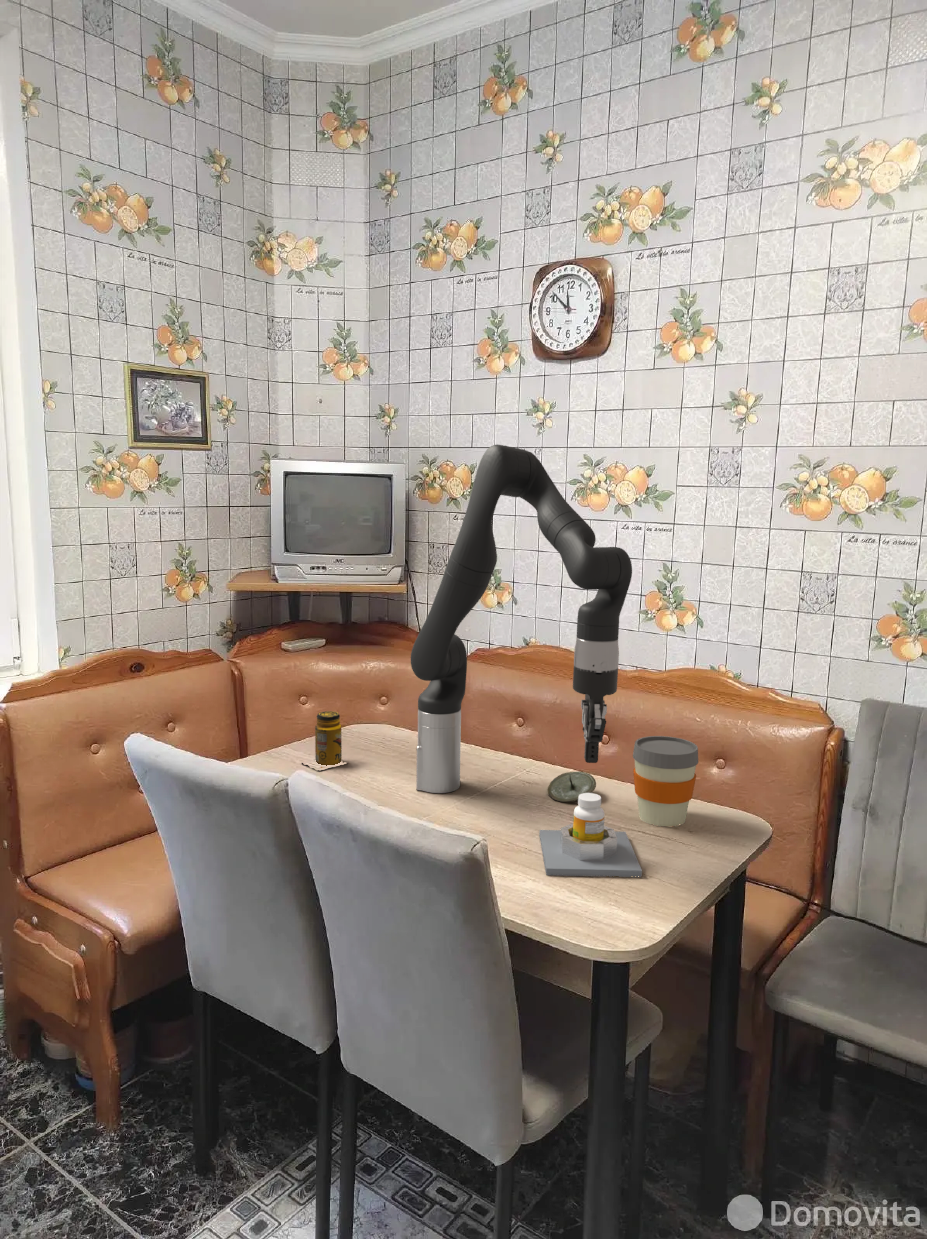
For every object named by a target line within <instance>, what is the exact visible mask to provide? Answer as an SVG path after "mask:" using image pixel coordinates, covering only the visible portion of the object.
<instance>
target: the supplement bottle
mask: <svg viewBox="0 0 927 1239" xmlns="http://www.w3.org/2000/svg"><path fill="white" fill-rule="evenodd" d="M577 804H578V805H577V806H575V808H574V810H573V822H572V823H573V837H574V838H576V839H579V840H581V841H598V842H600V841H602V840H603V839H604V826H605V811H604V809H603V807H601V806H602V797H601V795H600V794H597V793H593V792H592V793H582V794H580V795H579V796H578V801H577Z"/></svg>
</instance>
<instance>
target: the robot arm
mask: <svg viewBox="0 0 927 1239" xmlns="http://www.w3.org/2000/svg"><path fill="white" fill-rule="evenodd" d="M474 477H475V478H474V479H473V480H474V481H473V484H472V488H471V492H470V496H469V500H468V503H467V508H466V510H465V514H464V517H463V519H462V524H461V526H460V529H459V533H458V535H457V538H456V541H455V543H454V546H453V547H452V549H451V553H450V555H449V558H448V560H447V564H446V567H445V570H444V572H443V576H442V578H441V581H440V585H439V586H438V588H437V589H438V590H437V592H436V595H435V597H434V599H433V603H432V606H431V608H430V610H429V612H428V614H427V617H426V619H425V621H424V623H423V625H422V627H421V629H420V630H419V633H418V635H417V637H416V639H415V641H414V643H413V646H412V648H411V652H410V666H411V667H410V668H411V669H412V672H413V674H414V675H415V676H416V677H417V678H418V679H419V680H421V681H427V682H429V684H428V686H427V687H426V688H425V689H424V690H423V692H422V693H420V695H419V696H418V698H417V744H416V790H417V791H424V792H426V793H433V794H445V793H452V792H454V791H456V790H458V789H460V786H461V747H462V746H461V745H462V744H461V742H462V741H461V736H462V735H461V734H462V733H461V731H462V730H461V729H462V728H461V726H462V702H463V699H464V698H465V694H466V689H467V688H466V685H467V684H466V683H467V670H468V669H467V668H468V654H467V649H466V646H465V644H464V643H465V642H464V641H463V640H462V638H460V637H459V636H458V635H457V634H456V632H457V630H458V627H459V626H460V624H461V623H462V622H463V620H464V619H465V618H466V617H467V616H468V615H469V613H470V612H471V611H472V610H473V608H474V607H475V606H476V605H477V604H478V602H479V601H480V600H481V599H482V597H483V596H484V594H485V592H486V590H487V589H488V586H489V584H490V582H491V579H492V576H493V574H494V571H495V568H496V566H497V565H496V564H497V561H498V556H497V555H498V554H497V546H496V540H495V537H494V536H495V535H494V530H493V519H494V515H495V514H494V513H495V510H496V506H497V505H498V502H499V499H500V497H501V496H506V497H511V498H521V499H523V500H524V501H525V502H527V503H528V504H529V505H531V506H532V507H533V508H534V509H535V510H536V516H537V524H538V528H539V530H540V531H541V533H542V535H543V537H544V538H545V539H546V540H547V541H548V542H549V544H550V545H551V546H552V547H553V548H554V549H555V550H556V551H557V553H559V555H560V558H561V560H562V563H563V565H564V568H565V571H566V572H567V575H568V577H569V579H570V580H571V582H572V583H573V584H574V585H575V586H577V587H579V588H581V589H583V590H586V591H587V590H589V591H592V590H593V591H595V590H597V591H596V595H595V597H594V598H593V599H592V600H590V601H588V602H585V603H583V604H582V605H581V606H579V608H578V611H577V620H576V622H577V624H576V641H575V645H574V653H573V654H574V655H573V673H572V676H573V677H572V689H573V691H575V693H577V694H581V695H584V699H581V701H580V703H581V704H580V708H581V711H582V713H581V715H582V716H581V723H582V731H583V737H584V753H583V754H584V756H583V758H584V762H586V764H597V763H598V762H599V749H600V748H599V747H600V743H602V741H603V738H604V734H605V730H606V729H605V728H606V724H607V720H606V718H605V717H606V716H607V711H608V705H607V703H605V702H606V701H605V700H604V697H606V696H611V695H614V694H615V693H617V690H618V676H619V662H620V657H619V656H620V650H619V633H620V632H619V630H620V615H621V613H622V610H623V607H624V605H625V604H624V603H625V601H626V597H627V594H628V591H629V588H630V585H631V582H632V576H633V565H632V564H633V563H632V561H631V558H630V556H629V554H628V552H627V550H624V549H623V548H621V547H618V546H604V547H603V546H602V547H601V546H599V547H598V546H596V547H595V545H596V539H597V538H596V533H595V531H594V530H593V529H592V527H591V526H590V525H589V523H587V521H585V520H584V519H583V517H581V515H579V513H578V512H577V511H576V510H574V508H573V507H572V506H571V505H570V504H569V503H568V502H567V500H566V499H565V498H564V497H563V495H562V494H561V492H560V491H559V489H558V488H557V487H556V486H557V485H555V483H554V482H553V480H552V479H551V477H550V475H549V474H548V472H547V470H546V469H545V467H544V465H543V464H542V463H541V461H540V460H539V458H538V457H537V456H536V455H535V454H534V453H533V452H531V451H529V450H527V449H523V448H517V447H513V446H509V445H504V444H492V445H491V446H489V447H488V448H486V450H485V452H484V453H483V455H482V456H481V459H480V460H479V463H478V467H477V469H476V474H475V475H474Z"/></svg>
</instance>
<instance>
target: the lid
mask: <svg viewBox="0 0 927 1239" xmlns="http://www.w3.org/2000/svg"><path fill="white" fill-rule="evenodd" d="M596 787H597V782H596V779H595V777H594V776H593V775H592V774H590V773H588V772H585V771H569V772H568V771H567V772H563V773H561V774H559V775H557V776H556V777H555V778H553V779H552V780H551V782H550V783H549V785H548V786H547V789H546V790H547V795H548V797H550V799H552V800H554V801H557V802H560V803H571V802H578V796H579V795H580V794H582V793H593V792H594V791H595V789H596Z"/></svg>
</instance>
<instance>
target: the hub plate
mask: <svg viewBox="0 0 927 1239" xmlns="http://www.w3.org/2000/svg"><path fill="white" fill-rule="evenodd" d="M538 831H539V832H538V833H539V835H538V837H539V842H540V846H541V847H540V848H541V853H542V857H543V865H544V870H545V875H546V876H563V877H564V876H571V877H572V876H573V877H606V876H609V877H611V878H612V876H613V878H614V876H619V877H618V878H620V877H621V878H642V877H643V876H642V874H643V870H642V867H641V865H640V862H639V861H638V858H637V856H636V853H635V851H634V849H633V846H632V844H631V840H630V839H629V837H628V835H627V832H626V831H615V830H614V831H615V834H616V837H617V854H616V855H614V856H612V857H610V858H608V859H606V860H604V861H580V860H578V859H575V858H573V857H570V856H568V855H566V854H563V853H562V849H561V844H560V835H561V829H539V830H538ZM631 876H633V877H631ZM635 876H636V877H635ZM638 876H639V877H638ZM641 876H642V877H641Z"/></svg>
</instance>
